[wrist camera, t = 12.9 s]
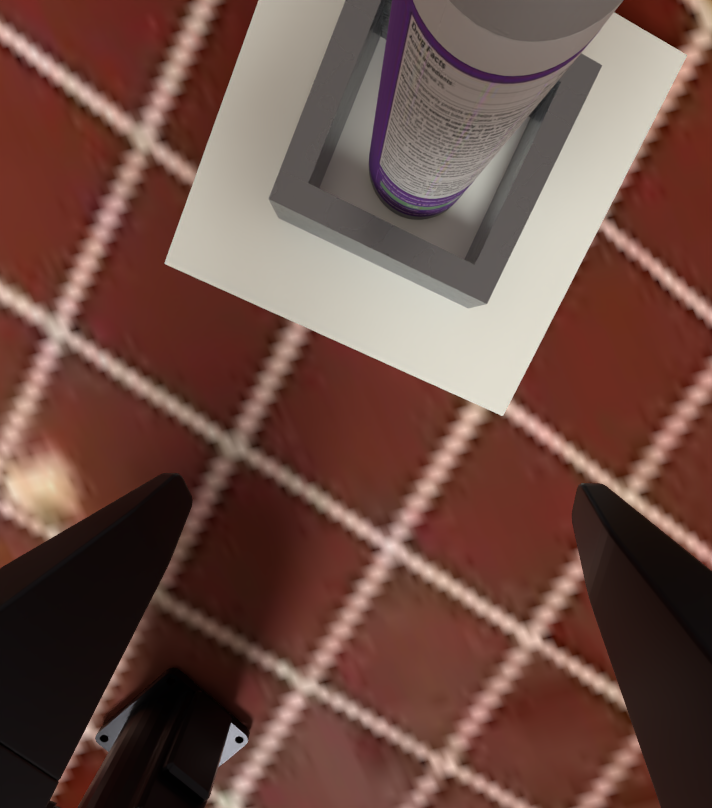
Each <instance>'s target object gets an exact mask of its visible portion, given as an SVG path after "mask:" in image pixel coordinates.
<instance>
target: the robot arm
mask: <svg viewBox="0 0 712 808" xmlns="http://www.w3.org/2000/svg"><path fill="white" fill-rule="evenodd" d="M191 507H192V496H191V494H190V492H189V490H188V488H187V485H186V483H185V481H184V479H183V477H182V476H181V475H180V474H177V473H163V474H161V475H159V476H157V477H155V478H154V479H152V480H150V481H149V482H147V483H145V484H143V485H142V486H140V487H138V488H137V489H135V490H133V491H131V492H130V493H128V494H126V495H125V496H123V497H121V498H119V499H118V500H116V501H114V502H113V503H111V504H109V505H108V506H106V507H104V508H102V509H101V510H99V511H97V512H96V513H94V514H92V515H90V516H89V517H87V518H85V519H84V520H82V521H80V522H78V523H77V524H75V525H73V526H72V527H70V528H68V529H66V530H65V531H63V532H61V533H60V534H58V535H56V536H55V537H53V538H51V539H49V540H48V541H46V542H44V543H43V544H41V545H39V546H37V547H36V548H34V549H32V550H31V551H29V552H27V553H25V554H24V555H22V556H20V557H19V558H17V559H15V560H13V561H12V562H10V563H8V564H7V565H5V566H3V567H2V568H0V808H60V807H57V806H56V804H57V803H55V802H53V801H50V799H51V797H52V795H53V793H54V791H55V789H56V787H57V785H58V780H59V779H60V778H61V776H62V774H63V772H64V770H65V768H66V766H67V764H68V762H69V760H70V758H71V756H72V755H73V753H74V751H75V749H76V747H77V745H78V743H79V741H80V739H81V737H82V735H83V733H84V731H85V729H86V727H87V725H88V723H89V721H90V719H91V717H92V715H93V713H94V711H95V709H96V707H97V705H98V703H99V701H100V699H101V697H102V695H103V693H104V691H105V689H106V687H107V685H108V683H109V681H110V679H111V677H112V676H113V674H114V672H115V670H116V668H117V666H118V664H119V662H120V660H121V658H122V656H123V654H124V652H125V650H126V648H127V646H128V644H129V642H130V640H131V638H132V636H133V634H134V632H135V630H136V628H137V626H138V624H139V622H140V620H141V618H142V616H143V614H144V612H145V610H146V608H147V606H148V604H149V602H150V600H151V599H152V597H153V595H154V593H155V591H156V589H157V587H158V585H159V583H160V581H161V579H162V577H163V575H164V573H165V571H166V569H167V567H168V564H169V562H170V560H171V558H172V555H173V553H174V550H175V548H176V545H177V543H178V540H179V537H180V535H181V532H182V530H183V527H184V525H185V522H186V520H187V517H188V515H189V512H190V510H191ZM572 523H573V528H574V533H575V537H576V542H577V546H578V551H579V555H580V560H581V565H582V569H583V574H584V578H585V583H586V587H587V591H588V595H589V599H590V602H591V605H592V609H593V612H594V615H595V617H596V620H597V623H598V626H599V629H600V632H601V635H602V638H603V641H604V643H605V646H606V649H607V652H608V655H609V658H610V661H611V664H612V667H613V670H614V672H615V675H616V678H617V681H618V684H619V687H620V690H621V693H622V696H623V698H624V701H625V704H626V707H627V710H628V713H629V716H630V719H631V722H632V725H633V727H634V730H635V733H636V736H637V739H638V742H639V745H640V748H641V751H642V753H643V756H644V759H645V762H646V765H647V768H648V771H649V774H650V777H651V780H652V782H653V785H654V788H655V791H656V794H657V797H658V800H659V803H660V806H661V808H712V571H711V570H710V569H709V568H707V567H706V566H705V565H704V564H702V563H701V562H700V561H699V560H697V559H696V558H695V557H694V556H692V555H691V554H690V553H689V552H687V551H686V550H685V549H684V548H682V547H681V546H680V545H679V544H677V543H676V542H675V541H674V540H673V539H671V538H670V537H669V536H668V535H666V534H665V533H664V532H663V531H661V530H660V529H659V528H658V527H656V526H655V525H654V524H653V523H651V522H650V521H649V520H648V519H646V518H645V517H644V516H643V515H641V514H640V513H639V512H638V511H636V510H635V509H634V508H633V507H631V506H630V505H629V504H628V503H626V502H625V501H624V500H623V499H622V498H620V497H619V496H618V495H617V494H615V493H614V492H613V491H612V490H610V489H609V488H608V487H607V486H605V485H603V484H599V483H582V484H580V485H579V486H578V488H577V492H576V496H575V501H574V505H573V510H572ZM171 678H174V679H171ZM249 734H250V733H249V730H248V729H247V728H246V727H245V726H244V725H243V724H242V723H241V722H239V721H238V720H237V719H236V718H235V717H234V716H232V715H231V714H230V713H229V712H228V711H227V710H225V709H224V708H223V707H222V706H221V705H220V704H218V703H217V702H216V701H215V700H214V699H213V698H211V697H210V696H209V695H208V694H207V693H206V692H204V691H203V690H202V689H201V688H200V687H199V686H197V685H196V684H195V683H194V682H193V681H192V680H191V679H189V678H188V677H187V676H186V675H185V674H184V673H182V672H181V671H180V670H178V669H176V668H170V669H168V670H167V671H166V672H165V673H163V674H162V675H161V676H160V677H159V678H158V679H156V680H155V681H154V682H153V683H152V684H151V685H149V686H148V687H147V688H146V689H145V690H144V691H143V692H141V693H140V694H139V695H138V696H137V697H136V698H134V699H133V700H132V701H131V702H130V703H129V704H127V705H126V706H125V707H124V708H123V709H122V710H120V711H119V712H118V713H117V714H116V715H115V716H114V717H112V718H111V719H110V720H109V721H108V722H107V723H105V724H104V725H103V726H102V727H101V728H100V730H99V731H98V733H97V735H96V738H95V739H96V742H97V743H98V744H99V745H101V746H102V747H103V748H104V749H106V750H107V751H108V752H109V753H108V755H107V756H106V758H105V760H104V762H103V763H102V765H101V767H100V769H99V770H98V772H97V774H96V776H95V778H94V779H93V781H92V783H91V785H90V786H89V788H88V790H87V792H86V794H85V795H84V797H83V799H82V801H81V802H80V804H79V806H78V808H205V807H206V803H207V800H208V798H209V797H210V794H211V791H212V787H213V784H214V780H215V777H216V773H217V770H218V767H219V766H220V765H222V764H223V763H224V762H225V761H227V760H228V759H229V758H230V757H231V756H233V755H234V754H235V753H236V752H238V751H239V750H240V749H241V748H242V747H244V746H245V745H246V744H247V742H248V738H249ZM240 736H241V737H240Z"/></svg>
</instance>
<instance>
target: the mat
mask: <svg viewBox="0 0 712 808" xmlns="http://www.w3.org/2000/svg"><path fill="white" fill-rule="evenodd" d="M344 3H345V0H259V1H258V4H257V6H256V9H255V12H254V15H253V17H252V20H251V23H250V26H249V29H248V31H247V34H246V37H245V40H244V43H243V45H242V48H241V51H240V54H239V57H238V59H237V62H236V65H235V68H234V70H233V73H232V76H231V79H230V82H229V84H228V87H227V90H226V93H225V96H224V98H223V101H222V104H221V107H220V110H219V112H218V115H217V118H216V121H215V124H214V126H213V129H212V132H211V135H210V137H209V140H208V143H207V146H206V149H205V151H204V154H203V157H202V160H201V163H200V165H199V168H198V171H197V174H196V177H195V179H194V182H193V185H192V188H191V190H190V193H189V196H188V199H187V202H186V204H185V207H184V210H183V213H182V216H181V218H180V221H179V224H178V227H177V230H176V232H175V235H174V238H173V241H172V244H171V246H170V249H169V252H168V255H167V257H166V260H165V263H164V264H166V265H168V266H171V267H173V268H175V269H177V270H179V271H182V272H184V273H186V274H188V275H191V276H193V277H195V278H197V279H199V280H202V281H204V282H206V283H208V284H211V285H213V286H215V287H217V288H219V289H222V290H224V291H226V292H228V293H231V294H233V295H235V296H237V297H239V298H242V299H244V300H246V301H248V302H251V303H253V304H255V305H257V306H259V307H262V308H264V309H266V310H268V311H270V312H273V313H275V314H277V315H279V316H282V317H284V318H286V319H288V320H290V321H293V322H295V323H297V324H299V325H302V326H304V327H306V328H308V329H310V330H313V331H315V332H317V333H319V334H322V335H324V336H326V337H328V338H330V339H333V340H335V341H337V342H339V343H342V344H344V345H346V346H348V347H350V348H353V349H355V350H357V351H359V352H362V353H364V354H366V355H368V356H370V357H373V358H375V359H377V360H379V361H382V362H384V363H386V364H388V365H390V366H393V367H395V368H397V369H399V370H402V371H404V372H406V373H408V374H410V375H413V376H415V377H417V378H419V379H421V380H424V381H426V382H428V383H430V384H433V385H435V386H437V387H439V388H441V389H444V390H446V391H448V392H450V393H453V394H455V395H457V396H459V397H461V398H464V399H466V400H468V401H470V402H473V403H475V404H477V405H479V406H481V407H484V408H486V409H488V410H490V411H493V412H495V413H497V414H499V415H501V416H503V415H504V413H505V411H506V409H507V407H508V405H509V403H510V401H511V399H512V397H513V395H514V393H515V391H516V389H517V388H518V386H519V384H520V382H521V380H522V378H523V376H524V374H525V372H526V370H527V368H528V366H529V364H530V362H531V360H532V358H533V356H534V354H535V352H536V350H537V348H538V346H539V344H540V342H541V341H542V339H543V337H544V335H545V333H546V331H547V329H548V327H549V325H550V323H551V321H552V319H553V317H554V315H555V313H556V311H557V309H558V307H559V305H560V303H561V301H562V299H563V297H564V295H565V294H566V292H567V290H568V288H569V286H570V284H571V282H572V280H573V278H574V276H575V274H576V272H577V270H578V268H579V266H580V264H581V262H582V260H583V258H584V256H585V254H586V252H587V250H588V249H589V247H590V245H591V243H592V241H593V239H594V237H595V235H596V233H597V231H598V229H599V227H600V225H601V223H602V221H603V219H604V217H605V215H606V213H607V211H608V209H609V207H610V205H611V203H612V202H613V200H614V198H615V196H616V194H617V192H618V190H619V188H620V186H621V184H622V182H623V180H624V178H625V176H626V174H627V172H628V170H629V168H630V166H631V164H632V162H633V160H634V158H635V156H636V155H637V153H638V151H639V149H640V147H641V145H642V143H643V141H644V139H645V137H646V135H647V133H648V131H649V129H650V127H651V125H652V123H653V121H654V119H655V117H656V115H657V113H658V111H659V109H660V108H661V106H662V104H663V102H664V100H665V98H666V96H667V94H668V92H669V90H670V88H671V86H672V84H673V82H674V80H675V78H676V76H677V74H678V72H679V70H680V68H681V66H682V64H683V63H684V61H685V59H686V57H687V55H686V54H684V53H683V52H681V51H679V50H678V49H676V48H674V47H672V46H671V45H669V44H667V43H666V42H664V41H662V40H660V39H659V38H657V37H655V36H654V35H652V34H650V33H649V32H647V31H645V30H643V29H642V28H640V27H638V26H637V25H635V24H633V23H631V22H630V21H628V20H626V19H625V18H623V17H621V16H620V15H618V14H616V13H613V14H612V15H611V17H610V18H609V19H608V20H607V22H606V23H605V24H604V26H603V27H602V28H601V30H600V31H599V32H598V34H597V35H596V36H595V37H594V38H593V40H592V41H591V42H590V43H589V44H588V46H587V47H586V48H585V49H584V50H583V51H582V54H583V55H585V56H587V57H589V58H590V59H592V60H594V61H596V62H597V63H599V64H601V65H602V67H601V69H600V71H599V73H598V76H597V78H596V80H595V82H594V84H593V86H592V88H591V90H590V92H589V94H588V96H587V98H586V100H585V102H584V104H583V107H582V109H581V111H580V113H579V115H578V117H577V119H576V121H575V123H574V125H573V127H572V129H571V131H570V133H569V135H568V138H567V140H566V142H565V144H564V146H563V148H562V150H561V152H560V154H559V156H558V158H557V160H556V162H555V164H554V167H553V169H552V171H551V173H550V175H549V177H548V179H547V181H546V183H545V185H544V187H543V189H542V191H541V193H540V195H539V198H538V200H537V202H536V204H535V206H534V208H533V210H532V212H531V214H530V216H529V218H528V220H527V222H526V224H525V226H524V229H523V231H522V233H521V235H520V237H519V239H518V241H517V243H516V245H515V247H514V249H513V251H512V253H511V255H510V257H509V260H508V262H507V264H506V266H505V268H504V270H503V272H502V274H501V276H500V278H499V280H498V282H497V284H496V286H495V289H494V291H493V293H492V295H491V297H490V299H489V301H488V303H487V304H485V305H481V306H477V307H472V308H466V307H464V306H462V305H460V304H458V303H456V302H453V301H451V300H449V299H447V298H445V297H443V296H441V295H439V294H437V293H435V292H433V291H430V290H428V289H426V288H424V287H422V286H420V285H418V284H416V283H414V282H412V281H409V280H407V279H405V278H403V277H401V276H399V275H397V274H395V273H393V272H391V271H388V270H386V269H384V268H382V267H380V266H378V265H376V264H374V263H372V262H370V261H367V260H365V259H363V258H361V257H359V256H357V255H355V254H353V253H351V252H349V251H346V250H344V249H342V248H340V247H338V246H336V245H334V244H332V243H330V242H328V241H326V240H323V239H321V238H319V237H317V236H315V235H313V234H311V233H309V232H307V231H305V230H302V229H300V228H298V227H296V226H294V225H292V224H290V223H288V222H286V221H284V220H281V219H279V218H278V216H277V214H276V212H275V210H274V209H273V207H272V205H271V203H270V201H269V196H270V194H271V191H272V189H273V186H274V183H275V181H276V178H277V176H278V173H279V171H280V168H281V165H282V163H283V160H284V158H285V155H286V153H287V150H288V147H289V145H290V142H291V140H292V137H293V134H294V132H295V129H296V127H297V124H298V122H299V119H300V116H301V114H302V111H303V109H304V106H305V103H306V101H307V98H308V96H309V93H310V91H311V88H312V85H313V83H314V80H315V78H316V75H317V72H318V70H319V67H320V65H321V62H322V60H323V57H324V54H325V52H326V49H327V47H328V44H329V41H330V39H331V36H332V34H333V31H334V29H335V26H336V23H337V21H338V18H339V16H340V13H341V10H342V8H343V5H344ZM385 45H386V39H384V38H382V37H380V39H379V42H378V44H377V47H376V49H375V52H374V54H373V57H372V59H371V62H370V64H369V67H368V69H367V71H366V74H365V76H364V79H363V81H362V84H361V86H360V89H359V91H358V94H357V96H356V99H355V101H354V104H353V106H352V109H351V111H350V114H349V116H348V118H347V121H346V123H345V126H344V128H343V131H342V133H341V136H340V138H339V141H338V143H337V146H336V148H335V151H334V153H333V156H332V158H331V161H330V163H329V166H328V168H327V170H326V173H325V175H324V178H323V180H322V183H321V185H320V188H319V189H321V190H323V191H325V192H327V193H329V194H331V195H333V196H335V197H337V198H339V199H342V200H344V201H346V202H348V203H350V204H352V205H354V206H356V207H358V208H360V209H362V210H364V211H366V212H368V213H370V214H372V215H374V216H376V217H378V218H380V219H382V220H384V221H386V222H388V223H390V224H393V225H395V226H397V227H399V228H401V229H403V230H405V231H407V232H409V233H411V234H413V235H415V236H417V237H419V238H421V239H423V240H425V241H427V242H429V243H431V244H433V245H435V246H437V247H439V248H441V249H444V250H446V251H448V252H450V253H452V254H454V255H456V256H458V257H460V258H462V259H465V257H466V255H467V253H468V251H469V248H470V246H471V244H472V242H473V240H474V238H475V236H476V233H477V231H478V229H479V227H480V225H481V223H482V221H483V218H484V216H485V214H486V212H487V210H488V208H489V206H490V203H491V201H492V199H493V197H494V195H495V193H496V191H497V188H498V186H499V184H500V182H501V180H502V178H503V176H504V173H505V171H506V169H507V167H508V165H509V163H510V161H511V159H512V156H513V154H514V152H515V150H516V148H517V146H518V144H519V141H520V139H521V137H522V135H523V133H524V131H525V129H526V126H527V124H528V122H529V120H530V117H529V116H528V117H527V118H526V119H525V121H524V122H523V123H522V124H521V125H520V127H519V128H518V129H517V130H516V131H515V133H514V134H513V135H512V136H511V137H510V138H509V140H508V141H507V142H506V143H505V144H504V146H503V147H502V148H501V149H500V150H499V152H498V153H497V154H496V155H495V156H494V158H493V159H492V160H491V161H490V162H489V164H488V165H487V166H486V167H485V168H484V169H483V171H482V172H481V173H480V174H479V175H478V177H477V178H476V179H475V180H474V181H473V183H472V184H471V185H470V186H469V187H468V189H467V190H466V191H465V192H464V193H463V195H462V196H461V197H460V198H459V199H458V200H457V201H456V202H455V203H454V205H452V206H451V207H450V208H449V209H448V210H447V211H445V212H444V213H442V214H440V215H438V216H436V217H433V218H429V219H423V220H414V219H408V218H404V217H401V216H399V215H397V214H395V213H394V212H392V211H391V210H389V209H388V208H387V207H386V206H385V205H384V204H383V203H382V202H381V201H380V199H379V198H378V196H377V195H376V193H375V191H374V189H373V186H372V183H371V180H370V175H369V153H370V146H371V140H372V133H373V126H374V119H375V113H376V106H377V99H378V92H379V86H380V79H381V72H382V65H383V59H384V52H385Z"/></svg>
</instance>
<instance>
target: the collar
mask: <svg viewBox="0 0 712 808" xmlns="http://www.w3.org/2000/svg"><path fill="white" fill-rule="evenodd" d="M391 5H392V0H345V3H344V5H343V8H342V10H341V13H340V16H339V18H338V21H337V23H336V26H335V29H334V31H333V34H332V36H331V39H330V41H329V44H328V47H327V49H326V52H325V54H324V57H323V60H322V62H321V65H320V67H319V70H318V72H317V75H316V78H315V80H314V83H313V85H312V88H311V91H310V93H309V96H308V98H307V101H306V103H305V106H304V109H303V111H302V114H301V116H300V119H299V122H298V124H297V127H296V129H295V132H294V134H293V137H292V140H291V142H290V145H289V147H288V150H287V153H286V155H285V158H284V160H283V163H282V165H281V168H280V171H279V173H278V176H277V178H276V181H275V183H274V186H273V189H272V191H271V194H270V196H269V201H270V203H271V205H272V207H273V209H274V210H275V212H276V214H277V216H278V218H279V219H281V220H284V221H286V222H288V223H290V224H292V225H294V226H296V227H298V228H300V229H302V230H305V231H307V232H309V233H311V234H313V235H315V236H317V237H319V238H321V239H323V240H326V241H328V242H330V243H332V244H334V245H336V246H338V247H340V248H342V249H344V250H346V251H349V252H351V253H353V254H355V255H357V256H359V257H361V258H363V259H365V260H367V261H370V262H372V263H374V264H376V265H378V266H380V267H382V268H384V269H386V270H388V271H391V272H393V273H395V274H397V275H399V276H401V277H403V278H405V279H407V280H409V281H412V282H414V283H416V284H418V285H420V286H422V287H424V288H426V289H428V290H430V291H433V292H435V293H437V294H439V295H441V296H443V297H445V298H447V299H449V300H451V301H453V302H456V303H458V304H460V305H462V306H464V307H466V308H472V307H477V306H481V305H485V304H487V303H488V301H489V299H490V297H491V295H492V293H493V291H494V289H495V286H496V284H497V282H498V280H499V278H500V276H501V274H502V272H503V270H504V268H505V266H506V264H507V262H508V260H509V257H510V255H511V253H512V251H513V249H514V247H515V245H516V243H517V241H518V239H519V237H520V235H521V233H522V231H523V229H524V226H525V224H526V222H527V220H528V218H529V216H530V214H531V212H532V210H533V208H534V206H535V204H536V202H537V200H538V198H539V195H540V193H541V191H542V189H543V187H544V185H545V183H546V181H547V179H548V177H549V175H550V173H551V171H552V169H553V167H554V164H555V162H556V160H557V158H558V156H559V154H560V152H561V150H562V148H563V146H564V144H565V142H566V140H567V138H568V135H569V133H570V131H571V129H572V127H573V125H574V123H575V121H576V119H577V117H578V115H579V113H580V111H581V109H582V107H583V104H584V102H585V100H586V98H587V96H588V94H589V92H590V90H591V88H592V86H593V84H594V82H595V80H596V78H597V76H598V73H599V71H600V69H601V67H602V65H601V64H599V63H597V62H596V61H594V60H592V59H590V58H589V57H587V56H585V55H583V54H582V53H581V54H580V55H579V56H578V57H577V59H576V60H575V61H574V62H573V63H572V65H571V66H570V67H569V68H568V69H567V71H566V72H565V73H564V74H563V75H562V77H561V78H560V79H559V80H558V81H557V82H556V84H555V85H554V86H553V87H552V88H551V90H550V91H549V92H548V93H547V94H546V96H545V97H544V98H543V99H542V100H541V102H540V103H539V104H538V105H537V106H536V108H535V109H534V110H533V111H532V112H531V113H530V115H529V117H530V120H529V122H528V124H527V126H526V129H525V131H524V133H523V135H522V137H521V139H520V141H519V144H518V146H517V148H516V150H515V152H514V154H513V156H512V159H511V161H510V163H509V165H508V167H507V169H506V171H505V173H504V176H503V178H502V180H501V182H500V184H499V186H498V188H497V191H496V193H495V195H494V197H493V199H492V201H491V203H490V206H489V208H488V210H487V212H486V214H485V216H484V218H483V221H482V223H481V225H480V227H479V229H478V231H477V233H476V236H475V238H474V240H473V242H472V244H471V246H470V248H469V251H468V253H467V255H466V257H465V259H462V258H460V257H458V256H456V255H454V254H452V253H450V252H448V251H446V250H444V249H441V248H439V247H437V246H435V245H433V244H431V243H429V242H427V241H425V240H423V239H421V238H419V237H417V236H415V235H413V234H411V233H409V232H407V231H405V230H403V229H401V228H399V227H397V226H395V225H393V224H390V223H388V222H386V221H384V220H382V219H380V218H378V217H376V216H374V215H372V214H370V213H368V212H366V211H364V210H362V209H360V208H358V207H356V206H354V205H352V204H350V203H348V202H346V201H344V200H342V199H339V198H337V197H335V196H333V195H331V194H329V193H327V192H325V191H323V190H321V189H319V188H320V185H321V183H322V180H323V178H324V175H325V173H326V170H327V168H328V166H329V163H330V161H331V158H332V156H333V153H334V151H335V148H336V146H337V143H338V141H339V138H340V136H341V133H342V131H343V128H344V126H345V123H346V121H347V118H348V116H349V114H350V111H351V109H352V106H353V104H354V101H355V99H356V96H357V94H358V91H359V89H360V86H361V84H362V81H363V79H364V76H365V74H366V71H367V69H368V67H369V64H370V62H371V59H372V57H373V54H374V52H375V49H376V47H377V44H378V42H379V39H380V37H382V38H384V39H386V38H387V32H388V25H389V18H390V11H391Z"/></svg>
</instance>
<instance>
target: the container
mask: <svg viewBox="0 0 712 808" xmlns="http://www.w3.org/2000/svg"><path fill="white" fill-rule="evenodd" d="M622 1H623V0H392V5H391V11H390V18H389V25H388V32H387V38H386V45H385V52H384V59H383V65H382V72H381V79H380V86H379V92H378V99H377V106H376V113H375V119H374V126H373V133H372V140H371V146H370V153H369V175H370V180H371V183H372V186H373V189H374V191H375V193H376V195H377V196H378V198H379V199H380V201H381V202H382V203H383V204H384V205H385V206H386V207H387V208H388V209H389V210H391V211H392V212H394V213H395V214H397V215H399V216H401V217H404V218H408V219H414V220H423V219H429V218H433V217H436V216H438V215H440V214H442V213H444V212H445V211H447V210H448V209H449V208H450V207H451V206H452V205H454V203H455V202H456V201H457V200H458V199H459V198H460V197H461V196H462V195H463V193H464V192H465V191H466V190H467V189H468V187H469V186H470V185H471V184H472V183H473V181H474V180H475V179H476V178H477V177H478V175H479V174H480V173H481V172H482V171H483V169H484V168H485V167H486V166H487V165H488V164H489V162H490V161H491V160H492V159H493V158H494V156H495V155H496V154H497V153H498V152H499V150H500V149H501V148H502V147H503V146H504V144H505V143H506V142H507V141H508V140H509V138H510V137H511V136H512V135H513V134H514V133H515V131H516V130H517V129H518V128H519V127H520V125H521V124H522V123H523V122H524V121H525V119H526V118H527V117H528V116H529V115H530V113H531V112H532V111H533V110H534V109H535V108H536V106H537V105H538V104H539V103H540V102H541V100H542V99H543V98H544V97H545V96H546V94H547V93H548V92H549V91H550V90H551V88H552V87H553V86H554V85H555V84H556V82H557V81H558V80H559V79H560V78H561V77H562V75H563V74H564V73H565V72H566V71H567V69H568V68H569V67H570V66H571V65H572V63H573V62H574V61H575V60H576V59H577V57H578V56H579V55H580V54H581V53H582V51H583V50H584V49H585V48H586V47H587V46H588V44H589V43H590V42H591V41H592V40H593V38H594V37H595V36H596V35H597V34H598V32H599V31H600V30H601V28H602V27H603V26H604V24H605V23H606V22H607V20H608V19H609V18H610V17H611V15H612V14H613V13H614V12H615V10H616V9H617V8H618V6H619V5H620V4H621V3H622Z"/></svg>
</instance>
